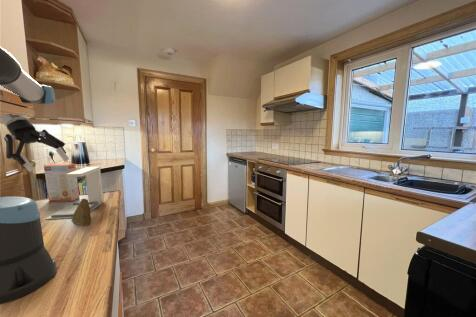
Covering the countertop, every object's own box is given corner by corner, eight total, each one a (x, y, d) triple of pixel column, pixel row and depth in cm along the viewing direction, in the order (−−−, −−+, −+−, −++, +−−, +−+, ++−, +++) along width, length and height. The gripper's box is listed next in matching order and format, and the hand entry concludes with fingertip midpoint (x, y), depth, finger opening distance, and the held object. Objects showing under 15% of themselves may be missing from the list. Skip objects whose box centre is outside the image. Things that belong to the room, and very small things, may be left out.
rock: (97, 219, 88) (99, 208, 97) (80, 207, 84) (84, 196, 92) (74, 237, 86) (79, 224, 94) (56, 225, 82) (62, 213, 90)
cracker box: (80, 198, 120) (75, 163, 117) (71, 202, 114) (66, 165, 111) (58, 197, 122) (53, 162, 118) (48, 201, 116) (42, 164, 112)
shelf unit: (81, 217, 95) (75, 175, 91) (44, 219, 93) (38, 176, 90) (104, 201, 115) (100, 166, 112) (75, 202, 113) (70, 167, 110)
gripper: (47, 125, 99) (75, 160, 100) (-29, 133, 76) (9, 179, 77) (54, 115, 96) (83, 152, 97) (-23, 121, 73) (17, 170, 74)
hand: (50, 164), depth 87 cm, fingers open, 13 cm apart
